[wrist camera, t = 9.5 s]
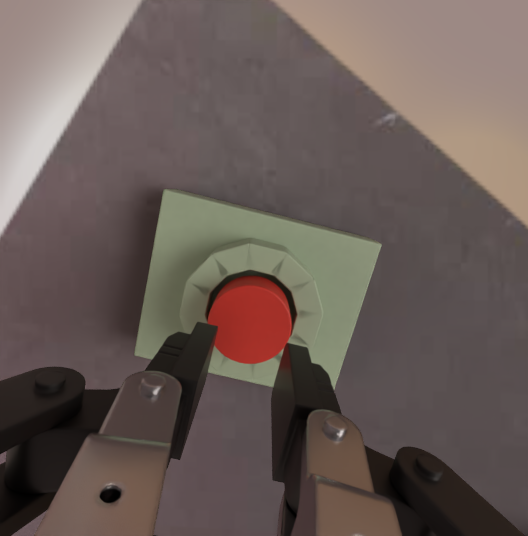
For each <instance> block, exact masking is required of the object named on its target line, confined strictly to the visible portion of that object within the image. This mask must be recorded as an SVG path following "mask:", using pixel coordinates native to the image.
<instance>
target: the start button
mask: <svg viewBox="0 0 528 536" xmlns="http://www.w3.org/2000/svg"><path fill="white" fill-rule="evenodd" d="M208 324H211V325H215V326H218V330H217V335H216V339H215V344H214V346H215V347H216V348H217V349H218V350H219V351H220V352H221V353H222V354H223V355H224V356H226V357H227V358H229V359H231V360H233V361H236V362H239V363H244V364H256V363H261V362H265V361H267V360H269V359H271V358H273V357H274V356H276V355H277V354H278V353H280V352H281V350H282V349H283V348H284V347H285V345H286V343H287V342H288V340H289V337H290V335H291V330H292V320H291V314H290V309H289V304H288V301H287V298H286V296H285V294H284V293H283V291H282V290H281V289H280V288H279V287H278V286H277V285H276V284H275V283H274V282H272V281H270V280H268V279H266V278H263V277H260V276H251V275H250V276H242V277H239V278H236V279H234V280H232V281H230V282H229V283H227V284H226V285H225V286H224V287H223V288H222V289H221V290H220V292H219V293H218V295H217V297H216V299H215V301H214V303H213V305H212V307H211V309H210V312H209V315H208Z"/></svg>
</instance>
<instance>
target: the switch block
mask: <svg viewBox="0 0 528 536" xmlns="http://www.w3.org/2000/svg"><path fill="white" fill-rule="evenodd" d="M380 248H381V244H380V243H379V242H377V241H374V240H372V239H370V238H368V237H364V236H360V235H356V234H352V233H348V232H344V231H340V230H336V229H332V228H328V227H324V226H320V225H316V224H312V223H308V222H304V221H300V220H297V219H293V218H289V217H285V216H281V215H277V214H273V213H269V212H265V211H261V210H257V209H253V208H249V207H245V206H241V205H237V204H233V203H229V202H225V201H221V200H217V199H213V198H209V197H205V196H201V195H197V194H193V193H190V192H186V191H182V190H178V189H164V190H163V195H162V201H161V206H160V212H159V218H158V223H157V229H156V234H155V240H154V246H153V251H152V257H151V262H150V268H149V274H148V279H147V285H146V290H145V296H144V302H143V307H142V313H141V318H140V324H139V330H138V335H137V341H136V346H135V352H134V355H135V356H139V357H143V358H148V359H153V358H154V356H155V355H156V353H157V352H158V350H159V349H160V347H161V346H162V345H163V343H164V342H165V340H166V339H167V337H168V336H170V335H172V334H174V333H176V332H178V331H179V332H183V333H187V334H191V333H192V331H193V329H194V327H195V325H196V323H197V322H202V323H207V324H208V315H209V312H210V309H211V307H212V305H213V303H214V301H215V299H216V297H217V295H218V293H219V292H220V290H221V289H222V288H223V287H224V286H225V285H226V284H227V283H229V282H230V281H232V280H234V279H236V278H239V277H242V276H250V275H251V276H260V277H263V278H266V279H268V280H270V281H272V282H274V283H275V284H276V285H277V286H278V287H279V288H280V289H281V290H282V291H283V293H284V294H285V296H286V298H287V301H288V304H289V309H290V314H291V320H292V330H291V335H290V337H289V340H288V342H287V343H291V344H295V345H300V346H304V347H307V348H308V350H309V354H310V358H311V362H312V363H315V364H319V365H321V366H322V367H323V369H324V370H325V371H326V372H327V373H328V374H329V377H330V380H331V383H332V384H331V385H332V386H333V389H334V388H335V385H336V382H337V379H338V376H339V373H340V370H341V367H342V364H343V361H344V358H345V355H346V352H347V348H348V345H349V342H350V339H351V336H352V333H353V330H354V327H355V324H356V321H357V318H358V315H359V312H360V309H361V306H362V303H363V300H364V297H365V294H366V291H367V288H368V285H369V282H370V279H371V276H372V273H373V270H374V266H375V263H376V260H377V257H378V254H379V251H380ZM283 350H284V348H283V349H282V350H281V352H280V353H278V354H277V355H276V356H274V357H273V358H271V359H269V360H267V361H265V362H261V363H256V364H244V363H239V362H236V361H233V360H231V359H229V358H227V357H226V356H224V355H223V354H222V353H221V352H220V351H219V350H218V349H217V348H216V347H215V346H214V348H213V352H212V356H211V361H210V365H209V369H208V372H209V373H213V374H217V375H222V376H226V377H230V378H235V379H239V380H243V381H248V382H252V383H257V384H261V385H265V386H270V387H273V386H274V382H275V378H276V375H277V371H278V368H279V364H280V361H281V357H282V354H283Z"/></svg>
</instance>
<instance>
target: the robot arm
mask: <svg viewBox="0 0 528 536" xmlns="http://www.w3.org/2000/svg"><path fill="white" fill-rule="evenodd" d="M217 330H218V326H215V325H211V324H207V323H202V322H197V323H196V325H195V327H194V329H193V331H192V333H191V334H187V333H183V332H179V331H178V332H176V333H174V334H172V335H170V336H168V337H167V339H166V340H165V342H164V343H163V345H162V346H161V347H160V349H159V350H158V352H157V353H156V355H155V356H154V358H153V359H152V361H151V362H150V364H149V365H148V367H147V368H146V370H145V371H142V372H137V373H134V374H132V375H130V376H129V377H127V378H126V379H125V381H124V382H123V384H122V386H121V388H118V389H111V390H86V389H85V379H84V377H83V376H82V375H81V374H80V373H79V372H77V371H75V370H72V369H69V368H64V367H45V368H39V369H35V370H32V371H29V372H26V373H23V374H20V375H17V376H14V377H11V378H8V379H5V380H2V381H0V454H1V453H3V452H5V451H7V453H6V462H4V463H2V464H1V465H0V536H11V535H12V534H14V533H15V532H17V531H18V530H19V529H21V528H22V527H24V526H25V525H26V524H28V523H29V522H31V521H32V520H33V519H35V518H36V517H38V516H39V515H40V514H42V513H43V512H45V511H46V510H47V509H48V510H47V512H46V514H45V516H44V517H43V519H42V521H41V523H40V525H39V527H38V529H37V531H36V532H35V534H34V536H156V535H153V534H154V529H155V524H156V519H157V514H158V509H159V504H160V499H161V494H162V489H163V484H164V479H165V474H166V470H167V468H168V465H169V462H170V459H171V458H174V459H178V460H180V458H181V455H182V452H183V449H184V446H185V443H186V440H187V437H188V433H189V430H190V427H191V424H192V421H193V418H194V415H195V412H196V409H197V406H198V403H199V400H200V397H201V393H202V390H203V387H204V384H205V381H206V377H207V373H208V369H209V365H210V361H211V356H212V352H213V348H214V344H215V339H216V335H217ZM331 384H332V383H331V380H330V377H329V374H328V373H327V372H326V371H325V370H324V369H323V367H322V366H321V365H319V364H315V363H312V362H311V358H310V354H309V350H308V348H307V347H304V346H300V345H295V344H291V343H286V345H285V347H284V350H283V354H282V357H281V361H280V364H279V368H278V371H277V375H276V378H275V382H274V386H273V391H272V398H271V416H272V476H273V480H274V481H278V482H283V483H285V491H284V494H283V497H282V500H281V504H280V509H279V519H278V529H277V536H525V535H524V534H522V533H521V532H520V531H519V530H518V529H517V528H516V527H515V526H514V525H512V524H511V523H510V522H509V521H508V520H507V519H506V518H505V517H504V516H503V515H501V514H500V513H499V512H498V511H497V510H496V509H495V508H494V507H493V506H491V505H490V504H489V503H488V502H487V501H486V500H485V499H484V498H483V497H482V496H480V495H479V494H478V493H477V492H476V491H475V490H474V489H473V488H472V487H470V486H469V485H468V484H467V483H466V482H465V481H464V480H463V479H462V478H460V477H459V476H458V475H457V474H456V473H455V472H454V471H453V470H452V469H451V468H449V467H448V466H447V465H446V464H445V463H444V462H442V461H441V460H440V459H438V458H437V457H435V456H434V455H432V454H430V453H428V452H426V451H424V450H422V449H418V448H415V447H403V448H401V449H399V450H398V452H397V455H396V457H395V460H394V459H392V458H390V457H388V456H385V455H383V454H381V453H379V452H376V451H374V450H372V449H370V448H368V447H367V446H365V445H364V442H363V437H362V434H361V432H360V430H359V429H358V427H357V426H356V425H355V424H354V423H353V422H352V421H351V420H349V419H348V418H346V417H345V416H343V415H342V413H341V410H340V407H339V404H338V401H337V398H336V395H335V393H334V389H333V386H332V385H331Z"/></svg>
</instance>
